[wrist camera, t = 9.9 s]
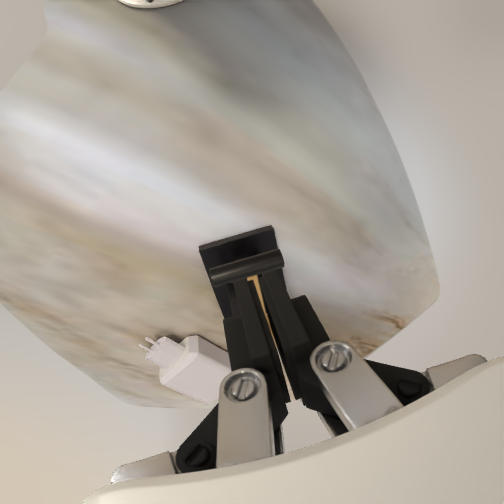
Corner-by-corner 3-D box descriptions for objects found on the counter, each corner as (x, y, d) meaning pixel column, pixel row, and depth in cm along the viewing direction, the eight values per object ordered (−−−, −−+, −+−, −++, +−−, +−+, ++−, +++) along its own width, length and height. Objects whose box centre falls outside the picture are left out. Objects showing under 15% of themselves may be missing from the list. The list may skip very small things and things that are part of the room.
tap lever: (206, 259, 21) (211, 286, 19) (275, 239, 21) (286, 264, 19) (240, 336, 30) (245, 356, 29) (286, 322, 31) (292, 342, 29)
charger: (162, 310, 39) (240, 356, 45) (128, 346, 40) (204, 384, 47) (160, 334, 34) (245, 379, 41) (124, 369, 36) (206, 406, 43)
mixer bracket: (198, 245, 35) (202, 313, 24) (271, 224, 36) (306, 283, 24) (225, 319, 41) (239, 391, 30) (287, 301, 41) (318, 368, 30)
